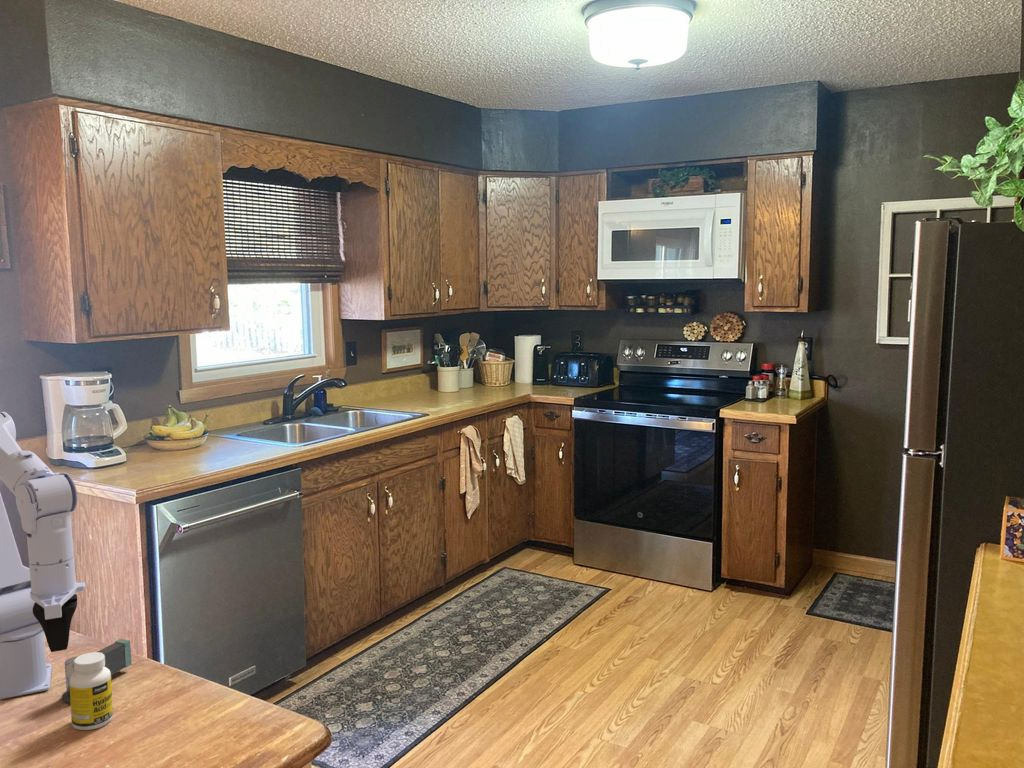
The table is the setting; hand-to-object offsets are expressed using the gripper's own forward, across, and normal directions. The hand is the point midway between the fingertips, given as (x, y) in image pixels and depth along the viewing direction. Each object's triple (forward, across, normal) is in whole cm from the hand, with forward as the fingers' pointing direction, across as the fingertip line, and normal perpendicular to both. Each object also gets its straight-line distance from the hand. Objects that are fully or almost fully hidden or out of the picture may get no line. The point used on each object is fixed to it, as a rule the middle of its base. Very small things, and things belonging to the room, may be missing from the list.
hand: (59, 649), depth 123 cm
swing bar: (+9, +8, -5) cm, 13 cm away
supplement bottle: (+11, -3, -4) cm, 12 cm away
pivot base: (+10, +6, -2) cm, 12 cm away
